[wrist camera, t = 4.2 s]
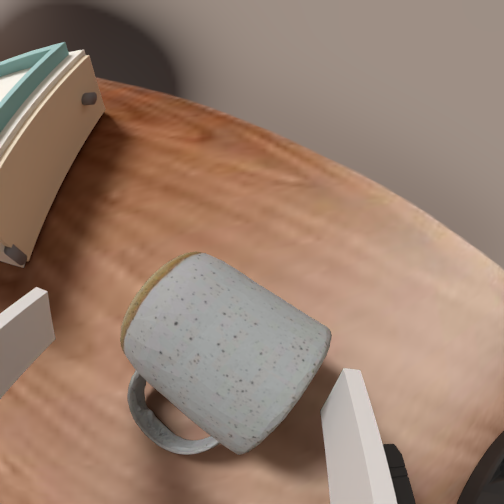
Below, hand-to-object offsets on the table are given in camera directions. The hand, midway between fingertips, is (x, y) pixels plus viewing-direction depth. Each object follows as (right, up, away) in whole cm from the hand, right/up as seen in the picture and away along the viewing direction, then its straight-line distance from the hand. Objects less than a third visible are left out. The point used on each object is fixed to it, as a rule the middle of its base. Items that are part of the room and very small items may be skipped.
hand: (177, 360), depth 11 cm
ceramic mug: (+1, -3, +6) cm, 7 cm away
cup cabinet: (-23, +13, +10) cm, 28 cm away
